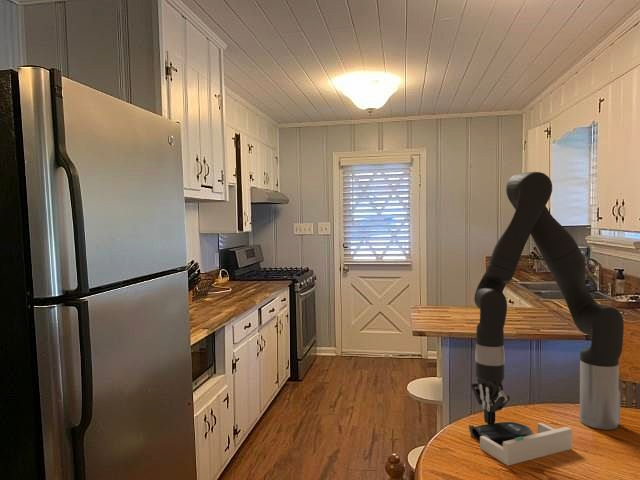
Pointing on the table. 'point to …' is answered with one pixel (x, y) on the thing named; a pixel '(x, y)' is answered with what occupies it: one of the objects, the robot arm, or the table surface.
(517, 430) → the electronic device
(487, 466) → the table surface
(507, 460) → the charging dock
